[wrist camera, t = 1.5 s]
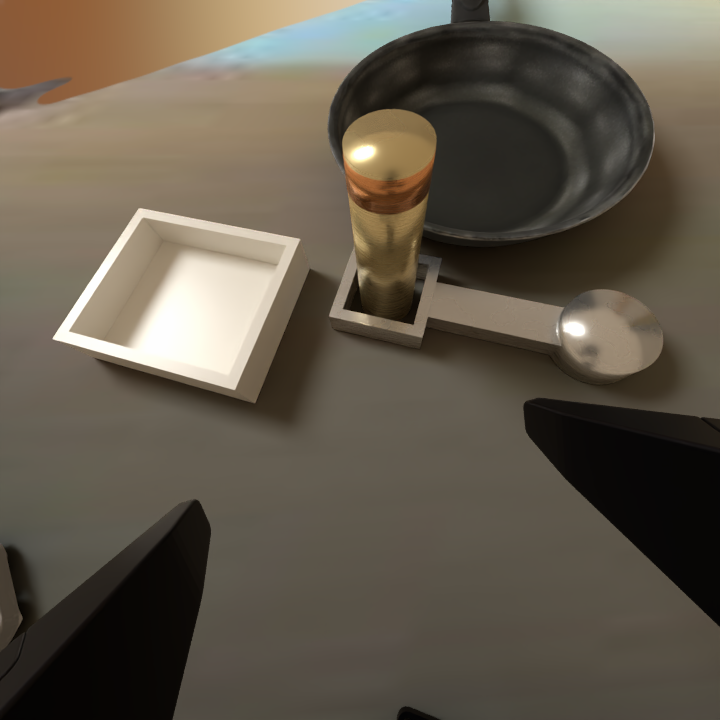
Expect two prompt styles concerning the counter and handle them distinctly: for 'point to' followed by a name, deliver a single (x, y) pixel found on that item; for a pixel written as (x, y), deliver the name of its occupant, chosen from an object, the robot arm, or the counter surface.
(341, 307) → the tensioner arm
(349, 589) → the counter surface
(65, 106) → the counter surface
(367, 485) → the counter surface
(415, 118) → the pin
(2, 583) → the pulley system
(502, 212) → the frying pan
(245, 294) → the parts tray
